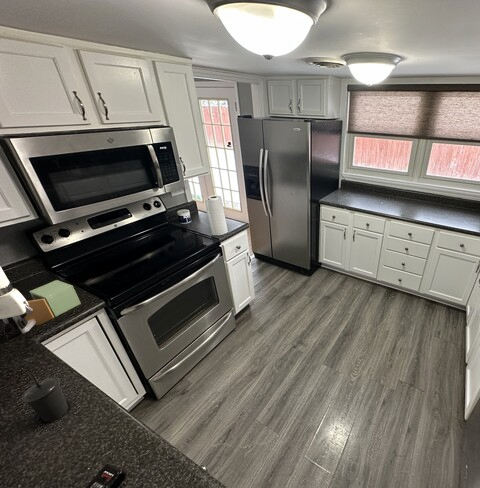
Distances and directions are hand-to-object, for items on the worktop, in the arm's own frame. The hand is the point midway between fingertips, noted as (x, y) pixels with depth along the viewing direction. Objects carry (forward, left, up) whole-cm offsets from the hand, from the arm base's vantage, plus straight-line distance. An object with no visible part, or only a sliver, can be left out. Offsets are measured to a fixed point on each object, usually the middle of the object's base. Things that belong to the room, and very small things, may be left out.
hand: (20, 327), depth 108 cm
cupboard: (+16, +6, -6) cm, 18 cm away
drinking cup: (-15, -52, -6) cm, 55 cm away
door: (+3, +2, -5) cm, 7 cm away
